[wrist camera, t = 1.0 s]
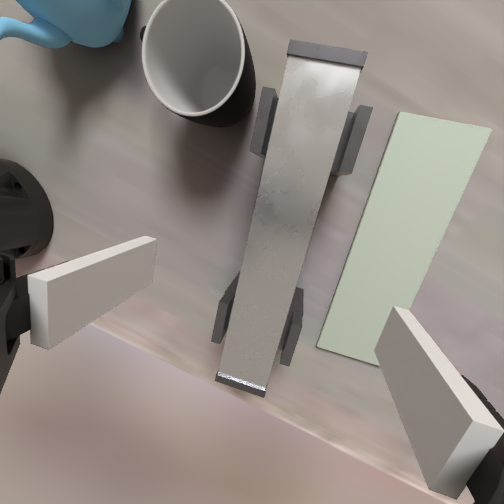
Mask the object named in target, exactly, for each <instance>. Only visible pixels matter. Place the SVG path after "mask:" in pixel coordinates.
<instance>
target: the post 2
mask: <svg viewBox="0 0 504 504" xmlns="http://www.w3.org/2000/svg"><path fill="white" fill-rule="evenodd" d="M278 100H279V98H278V97H277V94H276V91H275V89H273V88H268V87H263V88H262V93H261V98H260V103H259V108H258V113H257V118H256V122H255V127H254V132H253V137H252V142H251V147H250V152H252V153H254V154H255V155H257V156H259V157H261V158H263V159H266V154H267V150H268V145H269V141H270V136H271V132H272V127H273V123H274V118H275V114H276V109H277V105H278ZM372 109H373V107H368V106H363V105H359V107H358V108H357V110H356V111H355V112H354V113H352V112H348V114H347V117H346V121H345V124H344V128H343V131H342V134H341V138H340V141H339V144H338V148H337V151H336V154H335V158H334V161H333V164H332V168H331V171H330V174H332V175H336V176H342V175H348V174H352V171H353V168H354V165H355V162H356V158H357V155H358V152H359V149H360V146H361V143H362V140H363V137H364V134H365V131H366V128H367V125H368V121H369V118H370V115H371V112H372Z"/></svg>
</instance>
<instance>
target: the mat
mask: <svg viewBox="0 0 504 504" xmlns="http://www.w3.org/2000/svg"><path fill="white" fill-rule="evenodd" d="M491 131H492V129H490V128H485V127H480V126H474V125H469V124H464V123H458V122H453V121H448V120H443V119H437V118H432V117H427V116H421V115H416V114H411V113H405V112H399V113H398V115H397V118H396V120H395V123H394V126H393V129H392V132H391V135H390V137H389V140H388V143H387V146H386V149H385V152H384V154H383V157H382V160H381V163H380V166H379V169H378V171H377V174H376V177H375V180H374V183H373V186H372V188H371V191H370V194H369V197H368V200H367V203H366V206H365V208H364V211H363V214H362V217H361V220H360V223H359V225H358V228H357V231H356V234H355V237H354V240H353V242H352V245H351V248H350V251H349V254H348V257H347V259H346V262H345V265H344V268H343V271H342V274H341V276H340V279H339V282H338V285H337V288H336V291H335V294H334V296H333V299H332V302H331V305H330V308H329V311H328V313H327V316H326V319H325V322H324V325H323V328H322V330H321V333H320V336H319V339H318V342H317V347H319V348H323V349H326V350H329V351H332V352H336V353H339V354H342V355H345V356H349V357H352V358H355V359H358V360H361V361H365V362H368V363H371V364H374V365H378V366H380V365H379V362H378V360H377V357H376V354H375V352H374V349H375V347H376V344H377V342H378V340H379V337H380V335H381V333H382V331H383V328H384V326H385V324H386V321H387V319H388V317H389V314H390V312H391V310H392V308H393V306H396V307H399V308H403V309H406V310H409V309H410V307H411V305H412V302H413V300H414V298H415V296H416V294H417V292H418V289H419V287H420V285H421V283H422V281H423V279H424V276H425V274H426V272H427V270H428V268H429V265H430V263H431V261H432V259H433V257H434V255H435V252H436V250H437V248H438V246H439V244H440V242H441V239H442V237H443V235H444V233H445V231H446V229H447V226H448V224H449V222H450V220H451V218H452V216H453V213H454V211H455V209H456V207H457V205H458V202H459V200H460V198H461V196H462V194H463V192H464V189H465V187H466V185H467V183H468V181H469V179H470V176H471V174H472V172H473V170H474V168H475V166H476V163H477V161H478V159H479V157H480V155H481V153H482V150H483V148H484V146H485V144H486V142H487V140H488V137H489V135H490V133H491Z"/></svg>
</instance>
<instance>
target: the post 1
mask: <svg viewBox="0 0 504 504" xmlns="http://www.w3.org/2000/svg"><path fill="white" fill-rule="evenodd" d="M239 276H240V272H239V273H238V275H237V276H236V277H235V279H234V280H233V282H232V283H231V284H230V286H229V287H228V289H227V290H226V291H225V294H224V296H223V297H222V298H221V300H220V301H219V305H218V310H217V315H216V320H215V325H214V330H213V335H212V340H211V341H212V342H215V343H218V344H220V343H221V341H222V339H223V337H224V335H225V333H226V332H227V330H228V325H229V321H230V316H231V312H232V307H233V303H234V298H235V294H236V289H237V285H238V280H239ZM302 317H303V289H301V288H297V287H296V288H295V292H294V295H293V298H292V302H291V305H290V308H289V312H288V315H287V318H286V322H285V325H284V328H283V332H282V335H281V338H280V342H279V345H278V348H280V349H282V352H281V360H280V364H283V365H286V366H289V365H290V362H291V359H292V356H293V353H294V350H295V347H296V344H297V341H298V338H299V335H300V331H301V328H302Z"/></svg>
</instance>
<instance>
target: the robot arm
mask: <svg viewBox="0 0 504 504" xmlns="http://www.w3.org/2000/svg"><path fill="white" fill-rule="evenodd" d="M52 228H53V217H52V211H51V207H50V203H49V201H48V198H47V196H46V194H45V192H44V190H43V188H42V187H41V185H40V184H39V182H38V181H37V180H36V178H35V177H34V176H33V175H32V174H31V173H30V172H29V171H27V170H26V169H25V168H24V167H22V166H21V165H19V164H17V163H15V162H12V161H9V160H5V159H0V393H1V391H2V388H3V385H4V383H5V380H6V378H7V375H8V373H9V370H10V368H11V365H12V363H13V360H14V358H15V355H16V352H17V350H18V348H19V345H20V335H21V334H22V333H25V332H27V331H28V330H30V335H31V344H34V345H36V346H39V347H42V348H45V349H47V350H49V349H51V348H53V347H54V346H56V345H57V344H59V343H60V342H62V341H63V340H65V339H66V338H68V337H69V336H71V335H73V334H74V333H75V332H77V331H79V330H80V329H82V328H83V327H85V326H86V325H88V324H89V323H91V322H92V321H94V320H96V319H97V318H99V317H100V316H102V315H103V314H105V313H106V312H108V311H109V310H111V309H112V308H114V307H115V306H117V305H119V304H120V303H122V302H123V301H125V300H126V299H128V298H129V297H131V296H132V295H134V294H135V293H137V292H138V291H140V290H141V289H143V288H145V287H146V286H148V285H149V284H151V283H152V282H153V273H154V264H155V255H156V246H157V239H155V238H151V237H148V236H143V237H140V238H137V239H134V240H131V241H128V242H125V243H122V244H119V245H116V246H113V247H110V248H107V249H104V250H101V251H98V252H95V253H92V254H89V255H86V256H83V257H80V258H77V259H74V260H71V261H66V262H63V263H60V264H57V265H56V266H51V267H48V268H47V269H42V270H39V271H36V272H33V273H30V274H27V275H24V276H21V277H18V278H16V273H15V259H20V258H24V257H27V256H31V255H34V254H37V253H39V252H40V251H41V250H43V249H44V248H45V246H46V245H47V244H48V242H49V240H50V237H51V234H52ZM374 352H375V354H376V357H377V360H378V362H379V365H380V367H381V370H382V372H383V375H384V377H385V380H386V382H387V385H388V387H389V390H390V392H391V395H392V397H393V400H394V402H395V405H396V407H397V410H398V413H399V415H400V418H401V420H402V423H403V425H404V428H405V430H406V433H407V435H408V438H409V440H410V443H411V445H412V448H413V450H414V453H415V455H416V458H417V460H418V463H419V466H420V468H421V471H422V473H423V476H424V478H425V481H426V483H427V486H428V488H429V490H432V491H434V492H437V493H440V494H443V495H445V496H448V497H451V498H453V499H456V500H457V498H458V497H459V495H460V494H461V493H462V491H463V490H464V488H465V487H466V485H467V487H468V489H469V490H470V492H471V494H472V496H473V498H474V500H475V502H474V503H473V504H504V419H503V418H502V417H501V416H500V414H499V413H498V412H496V411H495V410H496V409H495V408H494V407H493V406H492V405H491V403H490V402H488V401H487V399H486V397H485V396H484V395H483V394H482V393H481V391H480V390H479V389H478V388H477V387H476V386H475V385H474V384H473V383H471V382H470V381H469V380H468V379H467V378H466V377H464V376H463V375H460V374H459V373H458V371H457V370H456V369H455V368H454V366H453V365H452V364H451V363H450V361H449V360H448V359H447V358H446V356H445V355H444V354H443V353H442V351H441V350H440V349H439V347H438V346H437V345H436V344H435V342H434V341H433V340H432V339H431V337H430V336H429V335H428V334H427V332H426V331H425V330H424V329H423V327H422V326H421V325H420V323H419V322H418V321H417V320H416V318H415V317H414V316H413V315H412V313H411V312H410V311H409V310H406V309H403V308H399V307H396V306H393V308H392V310H391V312H390V314H389V317H388V319H387V321H386V324H385V326H384V328H383V331H382V333H381V335H380V337H379V340H378V342H377V344H376V347H375V349H374Z"/></svg>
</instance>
